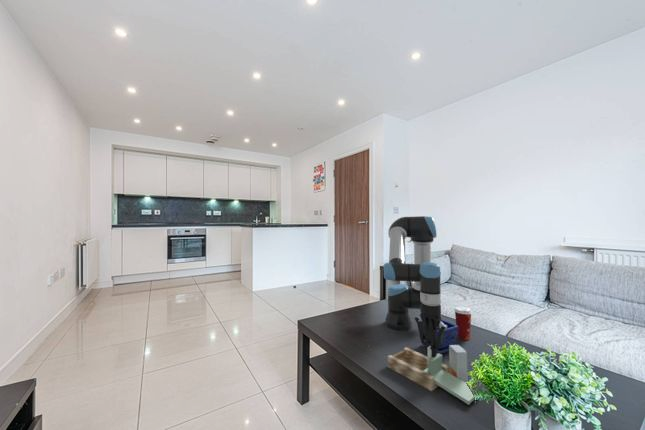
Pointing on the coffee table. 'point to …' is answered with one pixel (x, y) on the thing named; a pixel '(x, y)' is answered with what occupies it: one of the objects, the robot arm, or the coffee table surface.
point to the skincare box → (458, 362)
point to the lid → (448, 380)
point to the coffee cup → (463, 322)
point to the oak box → (414, 367)
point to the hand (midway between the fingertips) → (431, 363)
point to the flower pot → (447, 336)
